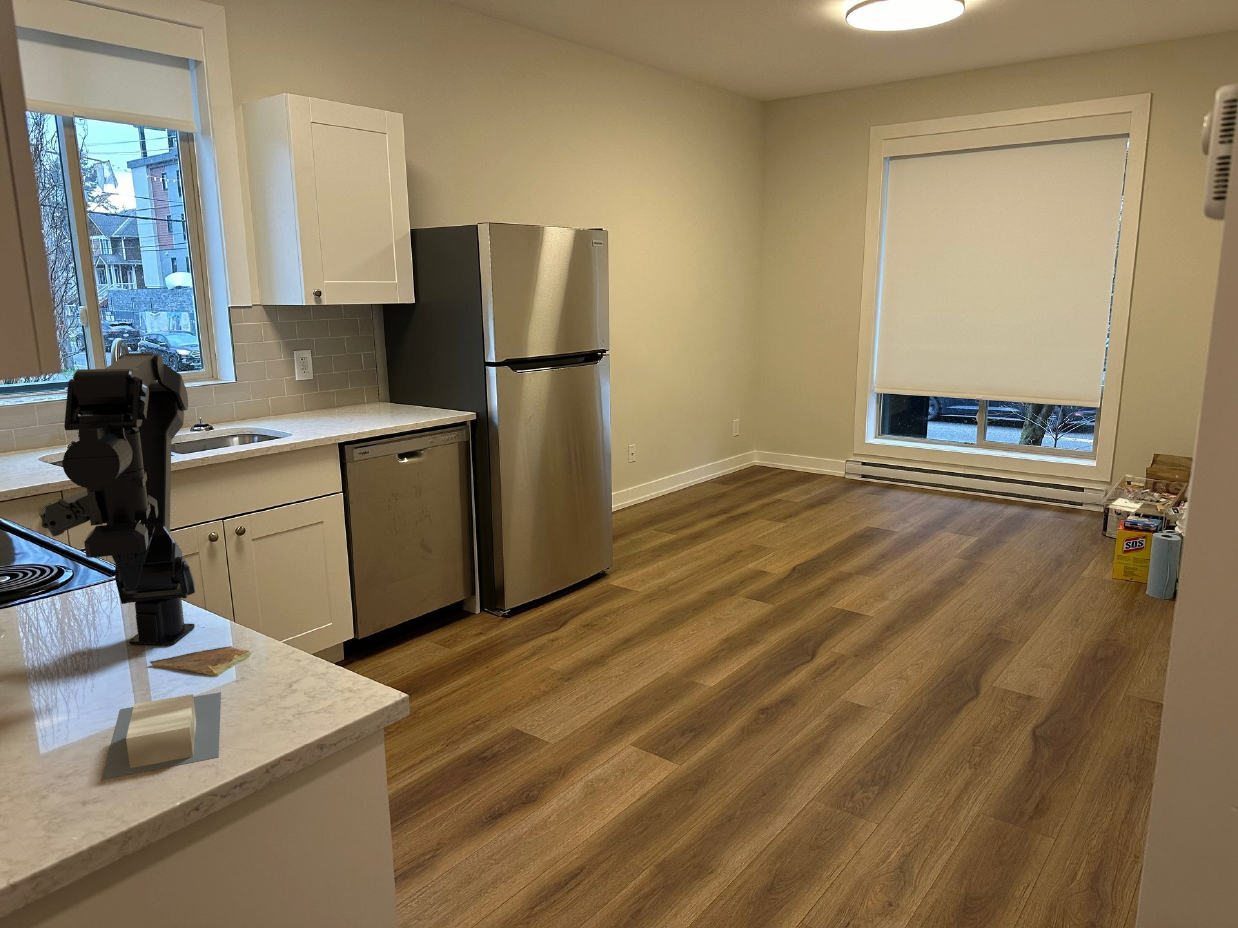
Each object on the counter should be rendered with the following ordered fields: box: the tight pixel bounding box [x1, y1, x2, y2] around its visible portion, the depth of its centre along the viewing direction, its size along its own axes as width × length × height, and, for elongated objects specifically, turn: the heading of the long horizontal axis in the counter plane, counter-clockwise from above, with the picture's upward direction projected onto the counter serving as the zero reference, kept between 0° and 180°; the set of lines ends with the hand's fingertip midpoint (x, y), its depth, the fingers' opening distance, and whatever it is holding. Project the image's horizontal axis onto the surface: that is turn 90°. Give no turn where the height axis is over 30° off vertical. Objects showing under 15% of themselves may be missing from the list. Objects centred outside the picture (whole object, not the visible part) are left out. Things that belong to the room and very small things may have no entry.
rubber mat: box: [101, 691, 222, 781], centre depth 98 cm, size 16×11×1 cm
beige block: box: [126, 694, 196, 768], centre depth 95 cm, size 4×6×8 cm
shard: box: [149, 645, 252, 677], centre depth 116 cm, size 11×8×2 cm
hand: (131, 588), depth 110 cm, fingers closed
